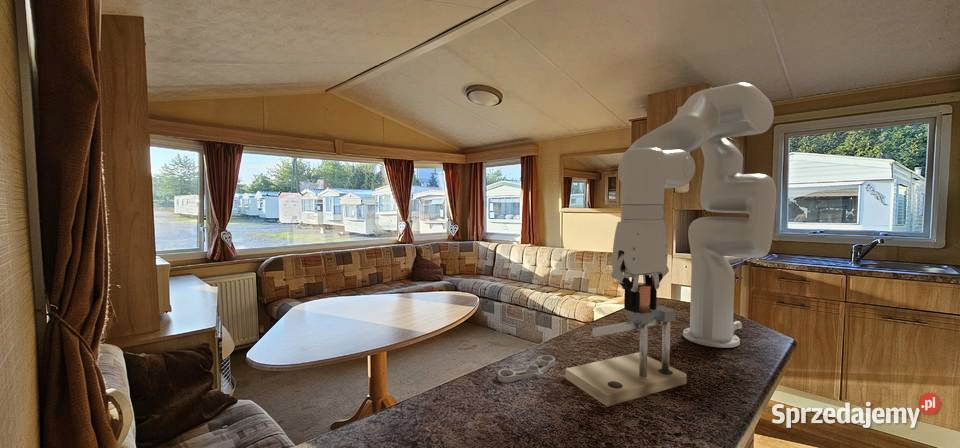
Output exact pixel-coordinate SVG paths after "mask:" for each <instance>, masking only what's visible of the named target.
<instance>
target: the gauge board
mask: <svg viewBox="0 0 960 448" xmlns="http://www.w3.org/2000/svg"><path fill="white" fill-rule="evenodd" d="M639 353H640V351H638V352H634V353H629V354H625V355H621V356H616V357H612V358H607V359H602V360H598V361H593V362H589V363H588V362H587V363H584V364H580V365H576V366H572V367H567V368H565V377H564V378H565V379H566V380H567V381H568V382H571V384H573V385H575V387H578V388H579V389H581V390H582V391H583V392H585V393H587V394H588V395H589V396H591V397H592V398H593V399H595V400H597V401H598V402H600V403H601V404H602V405H604V406H605V407H611V406H614V405H618V404H621V403H624V402H627V401H631V400H635V399H638V398H642V397H645V396H649V395H652V394H655V393H659V392H662V391H665V390H670V389H673V388H677V387H680V386H684V385H687V373H686V372H684V371H681V370H680V369H677V368H674V367H673V366H670V365H669V373H664V372H662V371H661V368H662V361H660V360H657V359H655V358H652V357H651V356H648V355H647V377H640V376H639Z"/></svg>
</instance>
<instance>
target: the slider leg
mask: <svg viewBox="0 0 960 448" xmlns="http://www.w3.org/2000/svg"><path fill="white" fill-rule="evenodd" d="M637 291H638V292H639V293H640V305H639V312H638V313H634V312H631V311H628V310H626V319H627V320H628V321H634V322H636V323H639V324H640V328H639V376H640V377H647V356H648V345H649V343H648V341H649V327H648V323H652V322H653V312H652V311H650V304H651V285H649V284H646V283H644V282H638V287H637Z"/></svg>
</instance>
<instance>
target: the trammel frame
mask: <svg viewBox="0 0 960 448" xmlns="http://www.w3.org/2000/svg"><path fill="white" fill-rule="evenodd" d="M650 311H652V312H653V322H652V323H648V328H649V327H652V326H653V327H654V326H660V325H662V326H661V327H662V328H661V329H662V330H661V332H662V335H661V337H662V338H661V363H662V368H661V371H662V372H664V373H669V366H670V362H671V361H670V360H671V358H670V353H671V322H672V321H676V313H677V311H676V309H674V308H670V307H666V306H664V305H656V310H651V309H650ZM637 329H638V330H640V324H639V323H636V322H634V321H631V320H628V321H624V322H620V323H619V322H618V323H613V324H608V325H603V326H597V327H592V335H593V336H595V337H601V336H607V335H612V334H617V333H622V332H627V331H632V330H637Z"/></svg>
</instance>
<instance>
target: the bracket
mask: <svg viewBox="0 0 960 448" xmlns="http://www.w3.org/2000/svg"><path fill="white" fill-rule="evenodd" d="M555 365H556V358H555V356H552V355H540V356H537V357H535V360H533V361H532V362H531V363H529V364H528V365H525V366H522V367H513V368H506V367H505V368H503V369H500V370H498V372H497V380H498V381H499V382H501V383H505V384H508V383H514V382H517V381H519V380H520V381H522V380H528V379H532V378H536V379H541V378H543V377H544V375H545V372H547V371H548V370H549V369H550V368H553V367H554V366H555ZM539 367H540V368H539Z"/></svg>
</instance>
